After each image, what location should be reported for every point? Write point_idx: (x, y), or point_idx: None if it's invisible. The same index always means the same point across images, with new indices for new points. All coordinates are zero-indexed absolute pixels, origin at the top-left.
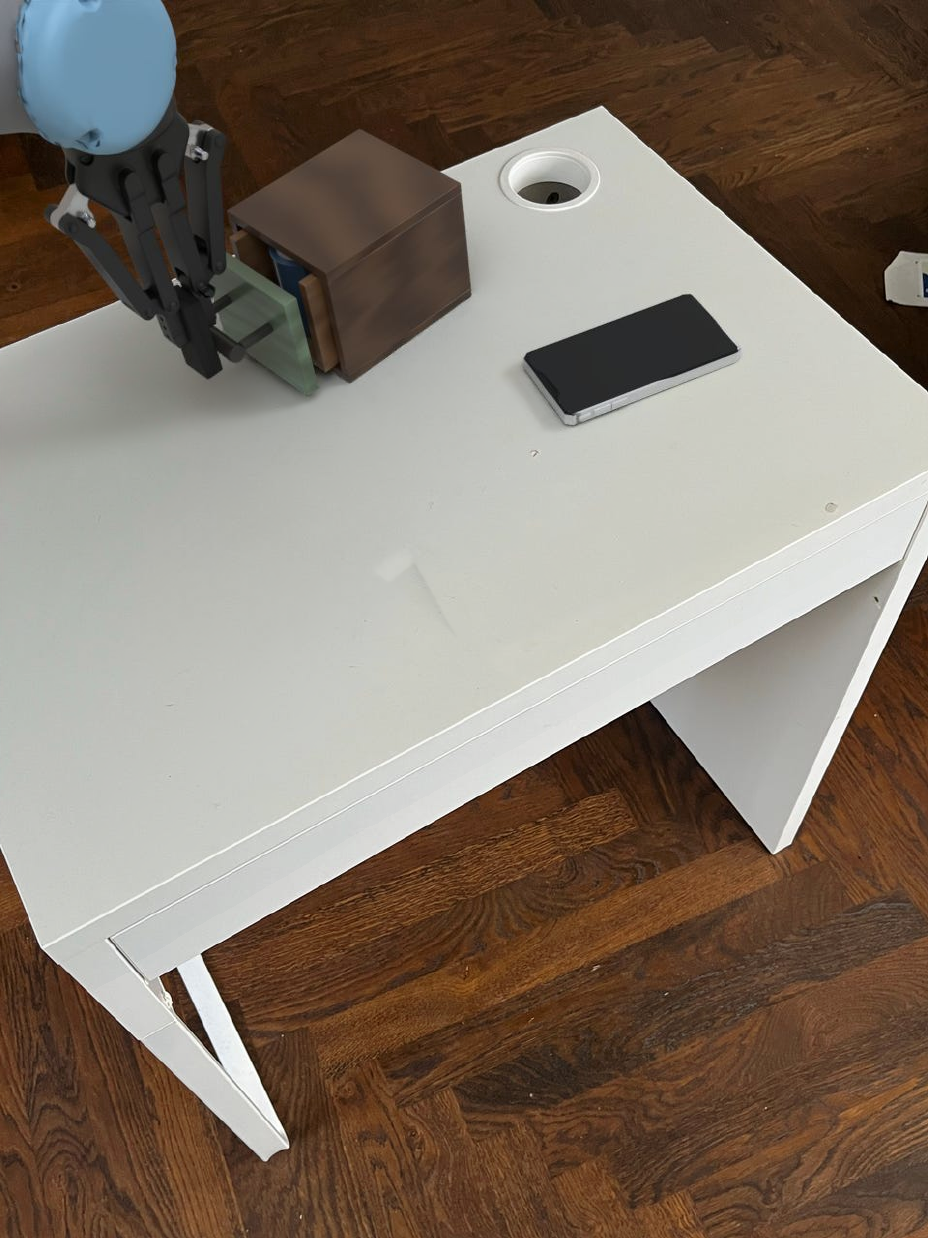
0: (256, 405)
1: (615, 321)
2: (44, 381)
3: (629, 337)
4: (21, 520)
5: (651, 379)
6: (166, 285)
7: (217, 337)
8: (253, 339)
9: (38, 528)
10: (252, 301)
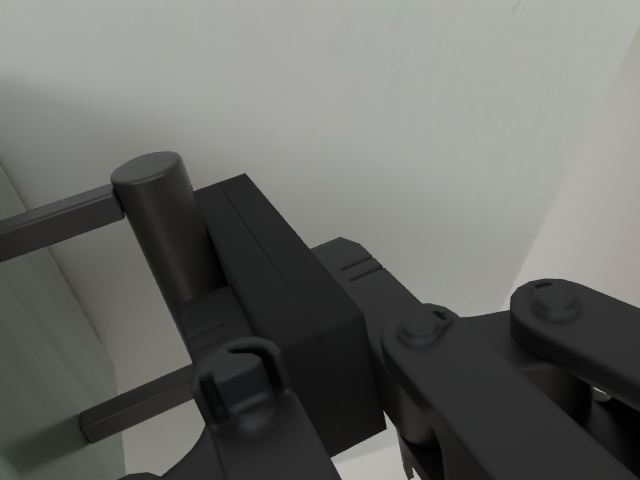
0: (109, 141)
1: None
2: None
3: None
4: (594, 89)
5: None
6: (493, 417)
7: (193, 257)
8: (60, 207)
9: (589, 52)
10: (2, 364)
